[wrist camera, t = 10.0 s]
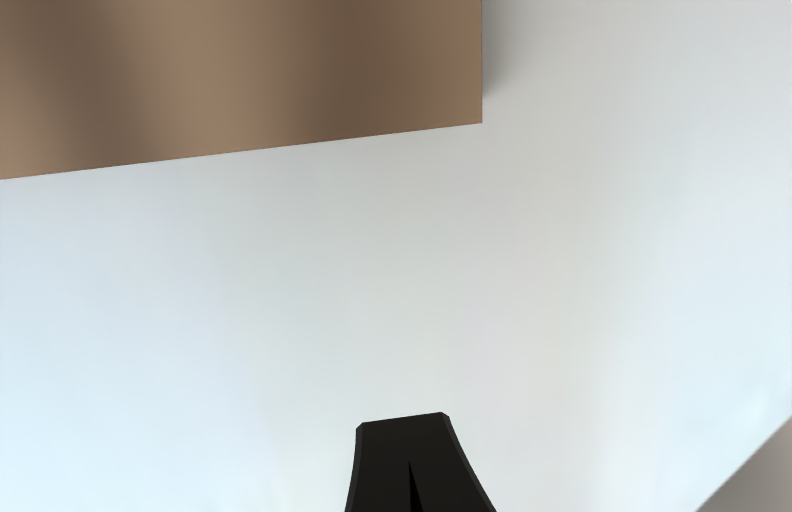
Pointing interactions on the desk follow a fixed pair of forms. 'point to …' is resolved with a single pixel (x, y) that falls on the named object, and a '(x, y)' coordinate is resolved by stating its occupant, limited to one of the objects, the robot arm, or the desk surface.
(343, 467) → the desk surface
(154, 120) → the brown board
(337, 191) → the desk surface
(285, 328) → the desk surface
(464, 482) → the robot arm
